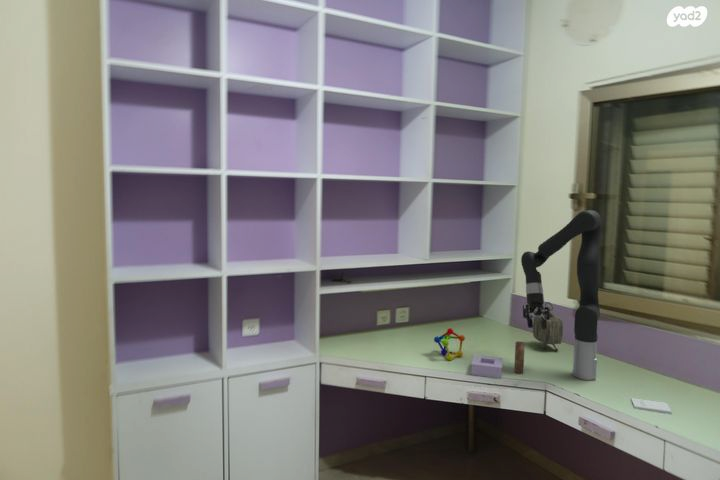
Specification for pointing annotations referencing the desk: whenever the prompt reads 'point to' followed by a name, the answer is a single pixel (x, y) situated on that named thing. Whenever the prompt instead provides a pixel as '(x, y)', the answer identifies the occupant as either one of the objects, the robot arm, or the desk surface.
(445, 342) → the educational toy
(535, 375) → the desk surface
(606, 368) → the desk surface
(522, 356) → the dowel
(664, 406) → the external hard drive
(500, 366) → the socket
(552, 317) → the tabletop clock
